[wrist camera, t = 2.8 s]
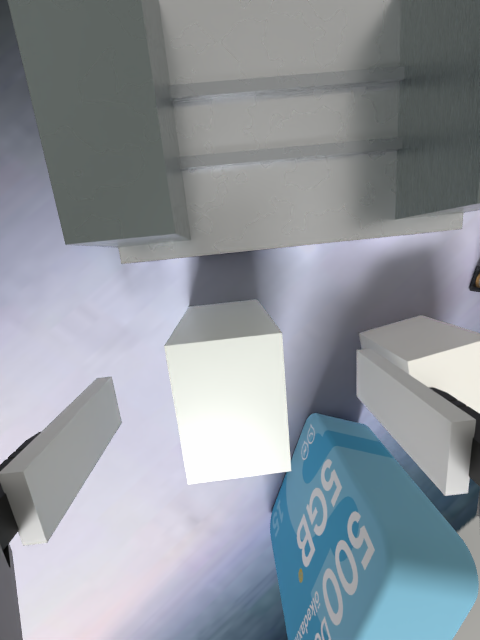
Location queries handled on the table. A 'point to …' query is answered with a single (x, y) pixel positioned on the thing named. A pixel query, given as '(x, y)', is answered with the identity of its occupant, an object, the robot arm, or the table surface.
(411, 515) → the data package
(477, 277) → the ammunition clip
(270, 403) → the block
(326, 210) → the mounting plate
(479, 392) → the block
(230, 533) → the table surface
